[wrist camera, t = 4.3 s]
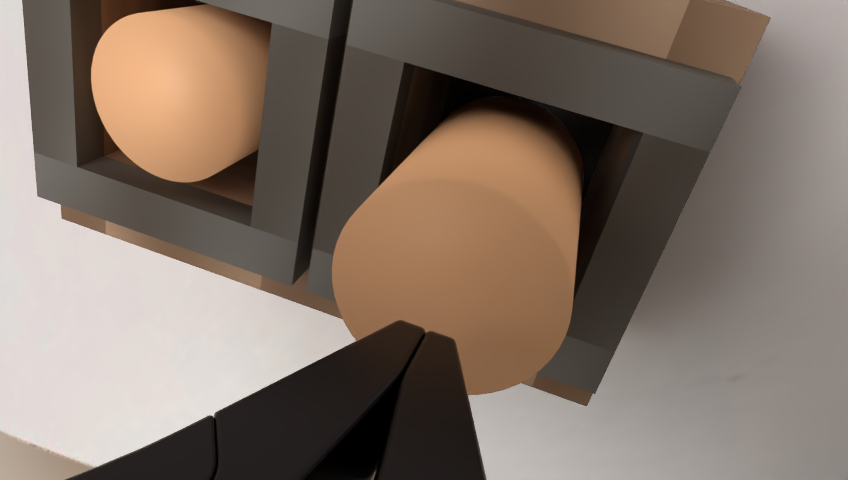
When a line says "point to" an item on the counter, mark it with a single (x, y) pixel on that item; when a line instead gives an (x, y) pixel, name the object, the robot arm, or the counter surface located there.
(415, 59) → the socket block
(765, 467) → the counter surface
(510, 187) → the peg
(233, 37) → the peg
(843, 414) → the counter surface
